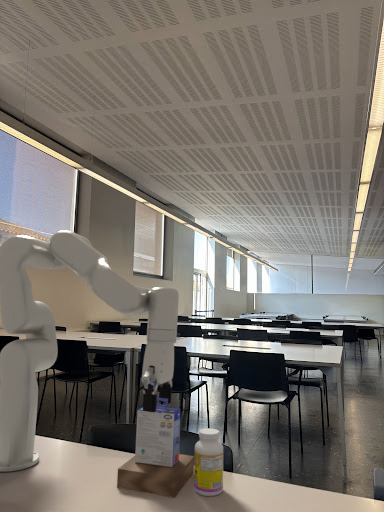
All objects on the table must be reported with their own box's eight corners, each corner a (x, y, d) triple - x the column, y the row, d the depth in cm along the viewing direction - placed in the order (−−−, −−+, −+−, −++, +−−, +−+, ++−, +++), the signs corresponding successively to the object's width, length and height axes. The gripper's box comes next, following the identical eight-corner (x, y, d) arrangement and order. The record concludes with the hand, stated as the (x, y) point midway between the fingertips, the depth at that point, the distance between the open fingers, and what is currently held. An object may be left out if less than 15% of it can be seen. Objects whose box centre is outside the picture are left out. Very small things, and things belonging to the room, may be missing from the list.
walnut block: (116, 487, 88) (117, 468, 89) (143, 465, 101) (143, 448, 102) (174, 497, 84) (174, 477, 85) (193, 473, 97) (194, 456, 98)
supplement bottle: (196, 482, 92) (197, 425, 94) (224, 485, 90) (225, 428, 92) (191, 495, 85) (192, 434, 87) (220, 499, 84) (221, 436, 86)
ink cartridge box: (180, 459, 95) (181, 398, 97) (173, 468, 90) (175, 403, 92) (142, 455, 97) (145, 395, 100) (134, 463, 92) (136, 400, 94)
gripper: (161, 334, 107) (157, 398, 105) (132, 337, 91) (127, 413, 88) (186, 335, 105) (183, 401, 102) (162, 339, 88) (157, 417, 86)
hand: (157, 406), depth 95 cm, fingers open, 9 cm apart
